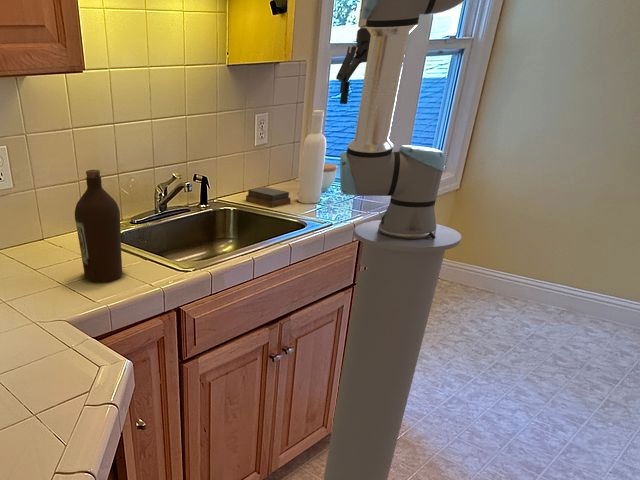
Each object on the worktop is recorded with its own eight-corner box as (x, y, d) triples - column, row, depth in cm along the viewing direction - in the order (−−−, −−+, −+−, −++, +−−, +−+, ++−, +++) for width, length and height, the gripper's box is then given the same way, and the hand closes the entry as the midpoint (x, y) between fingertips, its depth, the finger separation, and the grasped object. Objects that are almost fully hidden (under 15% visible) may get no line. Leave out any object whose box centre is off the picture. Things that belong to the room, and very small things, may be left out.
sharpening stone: (290, 203, 182) (291, 192, 180) (271, 207, 178) (272, 195, 176) (263, 197, 193) (264, 186, 191) (245, 200, 189) (246, 189, 187)
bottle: (312, 197, 188) (321, 109, 173) (324, 202, 182) (335, 110, 167) (293, 200, 186) (301, 110, 171) (305, 204, 180) (315, 111, 165)
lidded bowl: (329, 185, 205) (332, 157, 200) (339, 192, 194) (343, 162, 189) (298, 187, 205) (301, 158, 200) (306, 193, 194) (309, 163, 189)
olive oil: (120, 266, 130) (112, 165, 118) (128, 280, 122) (120, 172, 109) (80, 271, 128) (66, 169, 116) (85, 286, 119) (71, 176, 107)
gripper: (391, 28, 166) (380, 99, 176) (330, 29, 158) (322, 104, 169) (409, 26, 160) (396, 100, 170) (346, 27, 152) (337, 105, 163)
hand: (359, 102), depth 170 cm, fingers open, 13 cm apart
